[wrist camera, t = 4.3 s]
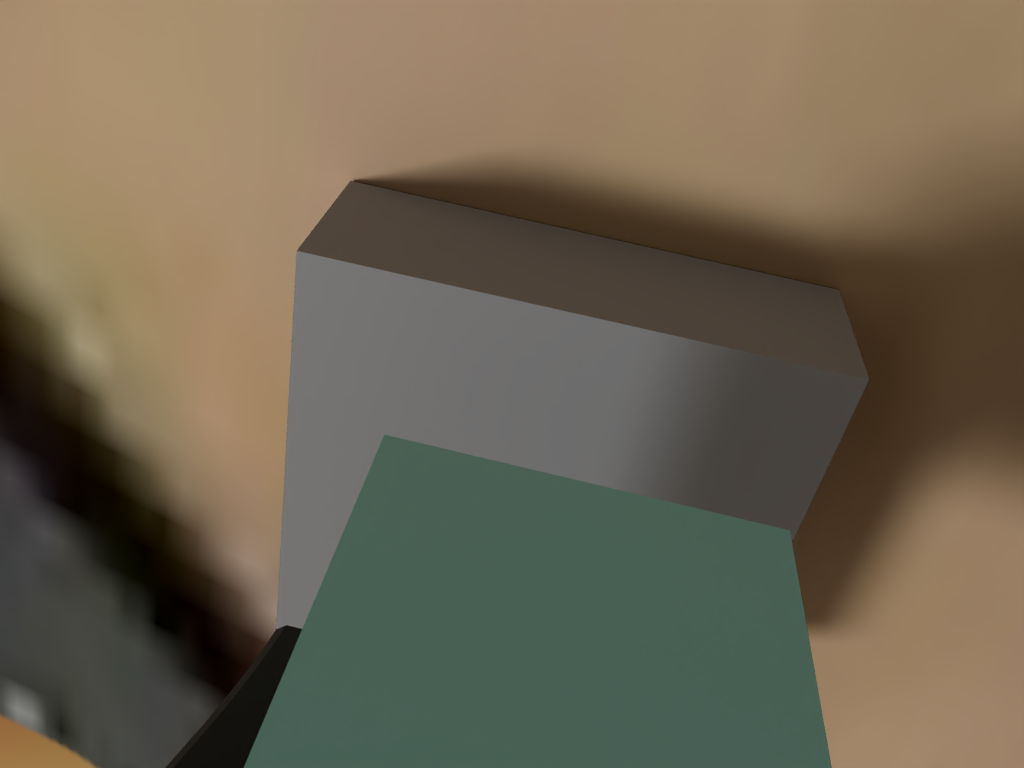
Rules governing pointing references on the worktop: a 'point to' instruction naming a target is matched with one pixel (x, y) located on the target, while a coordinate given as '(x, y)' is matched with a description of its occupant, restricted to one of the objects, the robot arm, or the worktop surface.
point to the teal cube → (544, 631)
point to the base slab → (550, 367)
